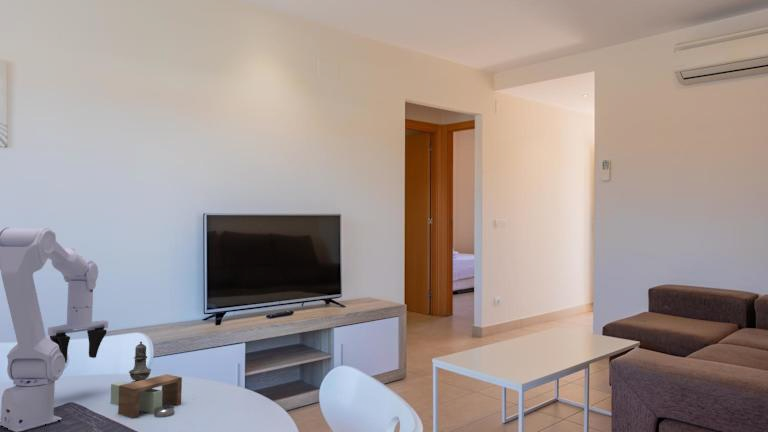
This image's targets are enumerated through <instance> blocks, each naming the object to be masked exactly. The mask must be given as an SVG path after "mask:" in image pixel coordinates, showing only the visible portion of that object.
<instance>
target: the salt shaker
mask: <svg viewBox="0 0 768 432" xmlns="http://www.w3.org/2000/svg"><path fill="white" fill-rule="evenodd" d="M134 353H135V354H134V357H133V359H134V367H133V369H131V370H129V371H128V373H129V376H130V378H131V380H133V381H131V382H130V383H132V382H136V381H140V380H144V379H148V378H150V375H151V372H152V368H148V367H147V358H148V356H147V346H146V345H145V344H143V341H140V342H139V344H137V345H136V346H135V352H134Z"/></svg>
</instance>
